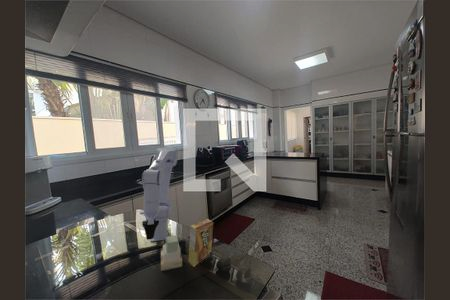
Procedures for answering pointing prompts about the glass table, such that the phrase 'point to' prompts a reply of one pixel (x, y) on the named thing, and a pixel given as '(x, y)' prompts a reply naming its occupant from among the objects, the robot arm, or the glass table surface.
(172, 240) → the block
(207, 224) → the candy box
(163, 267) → the slab bottom
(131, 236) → the glass table surface
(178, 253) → the slab top
